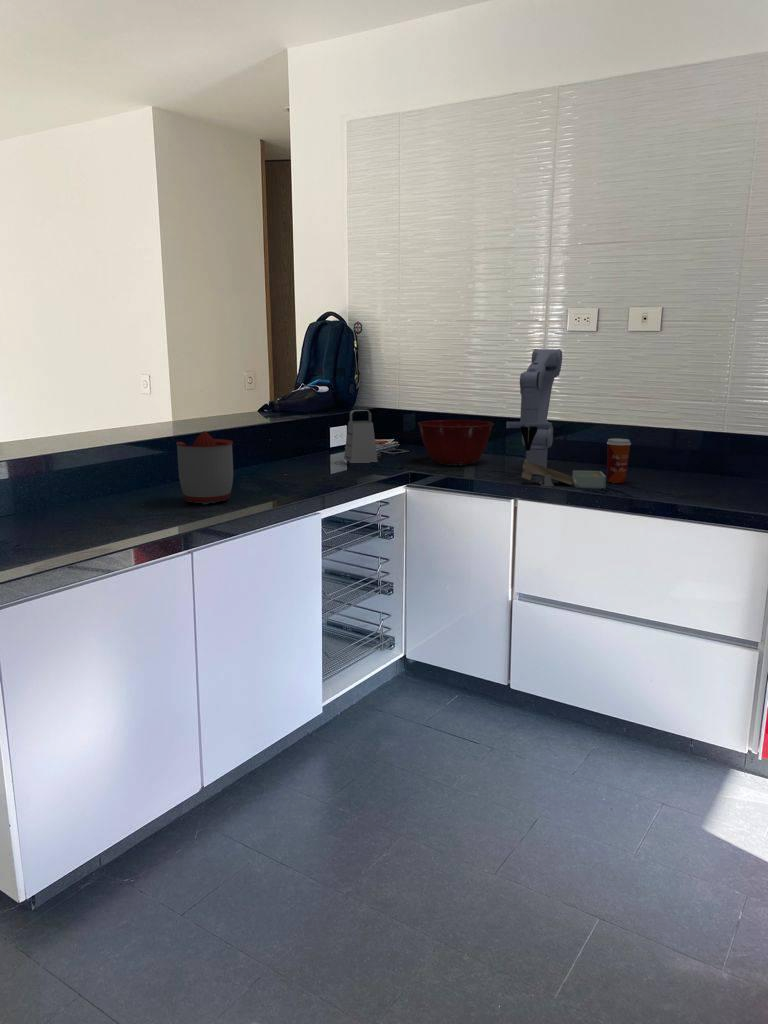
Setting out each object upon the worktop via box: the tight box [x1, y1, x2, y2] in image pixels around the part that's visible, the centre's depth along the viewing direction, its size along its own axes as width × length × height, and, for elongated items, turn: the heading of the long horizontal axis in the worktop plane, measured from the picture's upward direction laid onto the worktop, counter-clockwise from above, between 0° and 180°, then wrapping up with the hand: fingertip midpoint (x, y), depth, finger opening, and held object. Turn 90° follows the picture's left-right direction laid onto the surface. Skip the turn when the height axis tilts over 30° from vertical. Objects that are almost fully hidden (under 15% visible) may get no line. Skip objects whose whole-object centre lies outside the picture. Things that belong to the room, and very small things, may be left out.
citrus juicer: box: [175, 431, 234, 502], centre depth 211 cm, size 16×17×20 cm
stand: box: [538, 474, 555, 487], centre depth 240 cm, size 8×4×4 cm, turn 173°
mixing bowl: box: [417, 419, 495, 466], centre depth 281 cm, size 28×28×16 cm
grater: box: [343, 409, 379, 463], centre depth 279 cm, size 10×10×20 cm
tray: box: [571, 470, 607, 490], centre depth 238 cm, size 11×9×4 cm
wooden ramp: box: [520, 459, 574, 486], centre depth 243 cm, size 13×16×5 cm
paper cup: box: [606, 438, 632, 484], centre depth 243 cm, size 8×8×14 cm
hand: (527, 450), depth 246 cm, fingers closed
